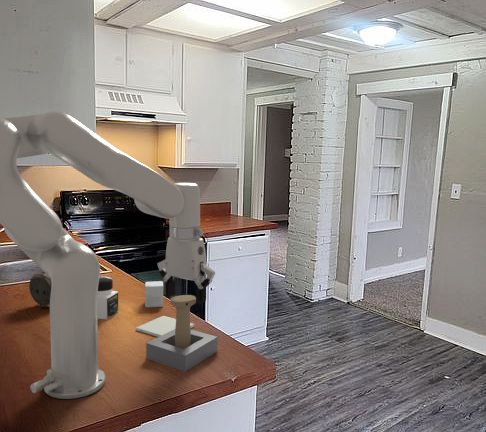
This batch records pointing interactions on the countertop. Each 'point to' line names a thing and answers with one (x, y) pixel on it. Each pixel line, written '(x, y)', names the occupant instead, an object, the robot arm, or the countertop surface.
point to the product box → (154, 294)
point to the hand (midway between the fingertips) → (185, 299)
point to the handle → (183, 319)
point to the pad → (159, 326)
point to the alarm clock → (41, 288)
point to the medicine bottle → (106, 299)
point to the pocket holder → (181, 350)
